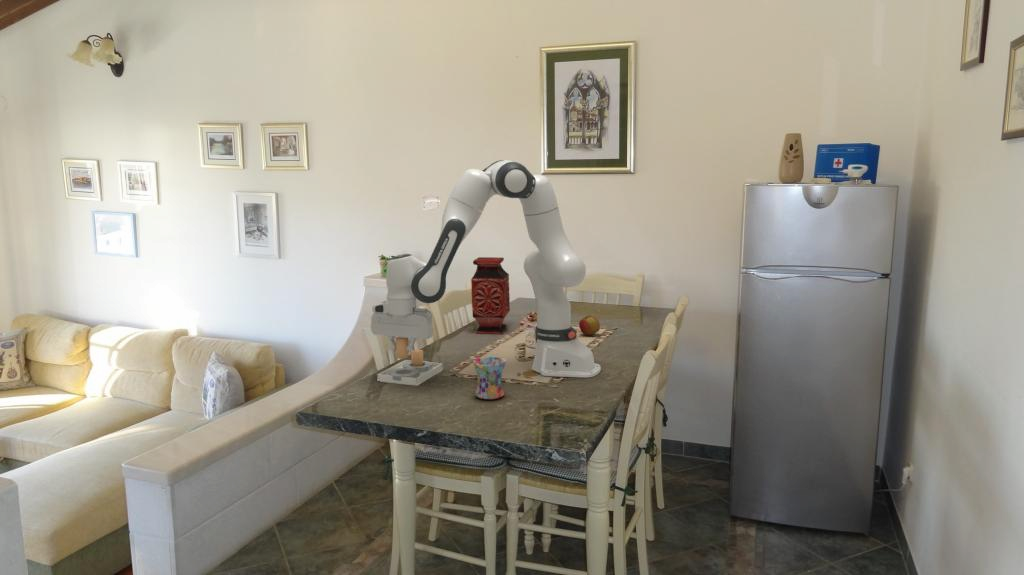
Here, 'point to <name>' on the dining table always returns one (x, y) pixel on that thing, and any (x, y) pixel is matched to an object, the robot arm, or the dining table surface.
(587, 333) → the apple
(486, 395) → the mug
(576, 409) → the dining table surface
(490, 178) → the robot arm
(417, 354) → the white candle tray
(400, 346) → the orange pillar candle
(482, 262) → the vase
